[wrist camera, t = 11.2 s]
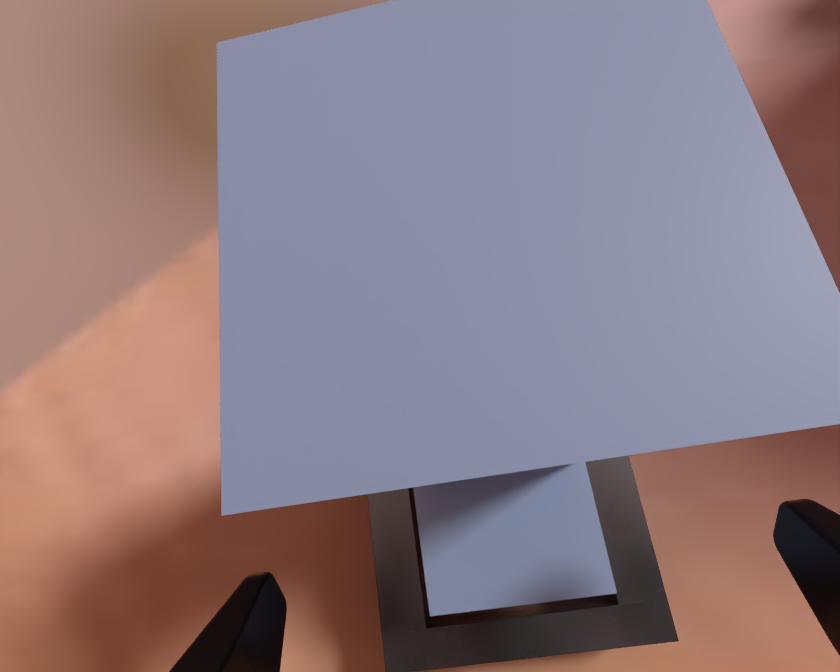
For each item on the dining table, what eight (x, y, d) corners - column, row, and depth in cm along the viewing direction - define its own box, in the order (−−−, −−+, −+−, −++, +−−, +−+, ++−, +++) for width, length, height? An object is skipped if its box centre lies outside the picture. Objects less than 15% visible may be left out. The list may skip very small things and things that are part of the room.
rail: (652, 618, 14) (678, 640, 12) (398, 648, 15) (386, 674, 13) (550, 227, 18) (558, 199, 16) (356, 265, 19) (341, 242, 17)
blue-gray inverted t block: (579, 559, 15) (1333, 1238, 2) (445, 576, 15) (184, 1242, 2) (516, 279, 18) (605, -274, 5) (405, 299, 18) (197, -159, 5)
